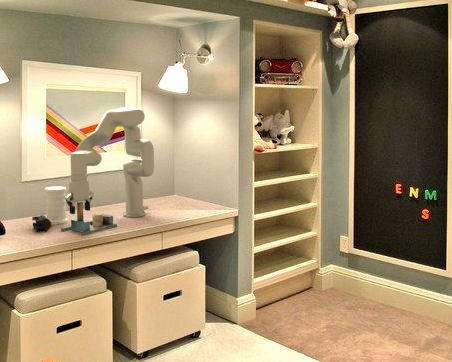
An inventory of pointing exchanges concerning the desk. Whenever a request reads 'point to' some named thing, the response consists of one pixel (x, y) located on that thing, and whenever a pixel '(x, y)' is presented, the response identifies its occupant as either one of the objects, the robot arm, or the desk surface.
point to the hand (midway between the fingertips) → (80, 212)
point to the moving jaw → (80, 220)
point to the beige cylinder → (97, 220)
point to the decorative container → (56, 204)
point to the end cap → (41, 223)
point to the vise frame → (106, 223)
